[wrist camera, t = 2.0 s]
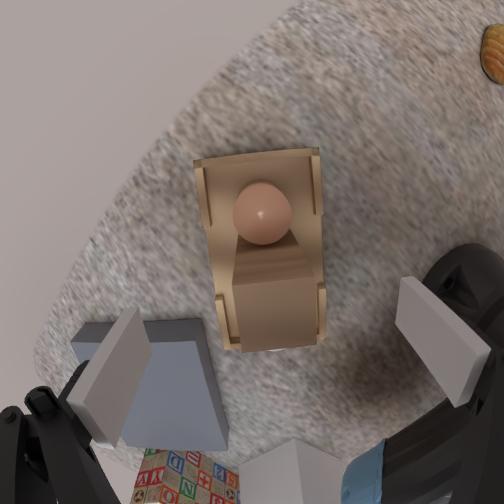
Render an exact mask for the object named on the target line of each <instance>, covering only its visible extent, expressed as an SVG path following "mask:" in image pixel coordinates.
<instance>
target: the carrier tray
mask: <svg viewBox="0 0 504 504" xmlns="http://www.w3.org/2000/svg"><path fill="white" fill-rule="evenodd" d="M193 165H194V172H195V180H196V187H197V194H198V201H199V208H200V214H201V221H202V228H205V231H206V238H207V244H208V250H209V256H210V263H211V269H212V274H213V280H214V286H215V292H216V298H215V304H216V309H217V315H218V320H219V325H220V330H221V335H222V340H223V345H224V350H232V349H242V353H245V352H256V351H266V350H276V349H285V348H293V347H301V346H308V345H315V344H317V340H321V339H326V287H325V285H324V281H323V247H322V225H321V215H324V208H323V193H322V179H321V167H320V155H319V148H302V149H289V150H277V151H266V152H256V153H247V154H238V155H230V156H222V157H215V158H208V159H201V160H194V161H193ZM254 180H267V181H270V182H272V183H273V184H275V185H276V186H277V187H278V188H279V189H280V190H281V192H282V193H283V195H284V196H285V197H286V199H287V200H288V202H289V204H290V206H291V210H292V222H291V225H290V228H289V230H288V231H287V233H286V234H285V235H284V236H283V237H282V238H281V239H279V240H278V241H276V242H274V243H271V244H266V245H259V244H254V243H251V242H249V241H247V240H245V239H244V238H243V237H242V236H241V235H240V234H239V233H238V231H237V230H236V228H235V226H234V222H233V210H234V206H235V203H236V199H237V196H238V193H239V191H240V190H241V189H242V187H243V186H244V185H246V184H247V183H249V182H251V181H254Z"/></svg>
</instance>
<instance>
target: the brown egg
mask: <svg viewBox="0 0 504 504" xmlns="http://www.w3.org/2000/svg"><path fill="white" fill-rule="evenodd" d="M233 222H234V226H235V228H236V230H237V231H238V233H239V234H240V235H241V236H242V237H243V238H244V239H245V240H247V241H249V242H251V243H254V244H259V245H266V244H271V243H274V242H276V241H278V240H279V239H281V238H282V237H283V236H284V235H285V234H286V233H287V231H288V230H289V228H290V225H291V222H292V210H291V206H290V204H289V202H288V200H287V199H286V197H285V196H284V195H283V193H282V192H281V190H280V189H279V188H278V187H277V186H276V185H275V184H273V183H272V182H270V181H267V180H254V181H251V182H249V183H247V184H246V185H244V186H243V187H242V189H241V190H240V191H239V193H238V196H237V199H236V203H235V206H234V210H233Z"/></svg>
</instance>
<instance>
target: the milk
mask: <svg viewBox="0 0 504 504" xmlns="http://www.w3.org/2000/svg"><path fill="white" fill-rule="evenodd" d="M342 479H343V471H342V466H341V460H340V459H338V458H336V457H334V456H332V455H329V454H327V453H325V452H323V451H321V450H319V449H316V448H314V447H312V446H310V445H308V444H306V443H304V442H302V441H300V440H298V439H296V438H293V439H291V440H289V441H287V442H285V443H284V444H282V445H280V446H278V447H276V448H274V449H272V450H270V451H268V452H266V453H264V454H262V455H260V456H258V457H256V458H254V459H252V460H250V461H248V462H246V463H243V464H241V465H239V483H240V502H241V504H341V484H342Z"/></svg>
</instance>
